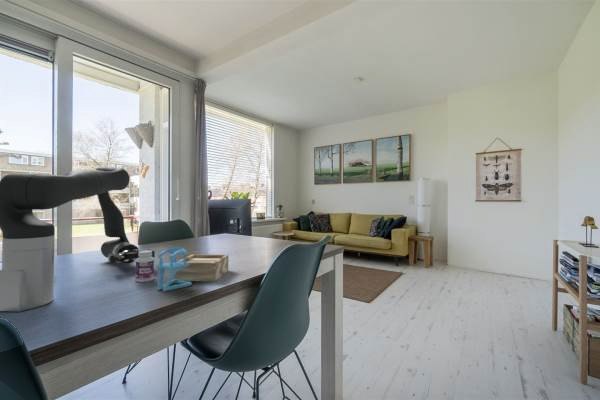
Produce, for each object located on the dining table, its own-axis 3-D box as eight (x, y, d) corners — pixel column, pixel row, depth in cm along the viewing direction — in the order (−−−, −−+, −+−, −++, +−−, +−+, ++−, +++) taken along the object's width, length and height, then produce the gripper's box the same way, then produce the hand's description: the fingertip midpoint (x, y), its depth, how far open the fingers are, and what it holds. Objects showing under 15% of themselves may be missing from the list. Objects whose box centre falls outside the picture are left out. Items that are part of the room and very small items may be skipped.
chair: (151, 289, 79) (152, 249, 79) (175, 281, 86) (176, 245, 86) (169, 293, 75) (169, 251, 76) (192, 285, 83) (192, 247, 83)
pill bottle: (139, 283, 84) (139, 253, 84) (132, 280, 87) (132, 251, 87) (156, 279, 88) (157, 251, 88) (149, 276, 91) (150, 249, 92)
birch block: (215, 281, 87) (215, 263, 87) (173, 280, 87) (174, 262, 87) (228, 270, 101) (228, 254, 101) (192, 269, 101) (192, 254, 101)
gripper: (104, 245, 99) (113, 250, 88) (145, 241, 110) (159, 245, 99) (103, 264, 99) (113, 272, 88) (145, 259, 110) (159, 265, 98)
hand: (137, 258), depth 93 cm, fingers open, 8 cm apart
